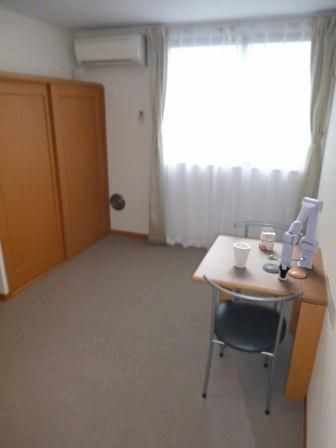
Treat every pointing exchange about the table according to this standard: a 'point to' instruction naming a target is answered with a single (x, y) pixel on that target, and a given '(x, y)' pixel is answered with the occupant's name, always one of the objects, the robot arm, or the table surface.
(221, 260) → the table surface
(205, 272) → the table surface
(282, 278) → the cream block
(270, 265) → the dish slate
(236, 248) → the foam cup
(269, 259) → the balance
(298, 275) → the dish terracotta
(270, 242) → the ink cartridge box
